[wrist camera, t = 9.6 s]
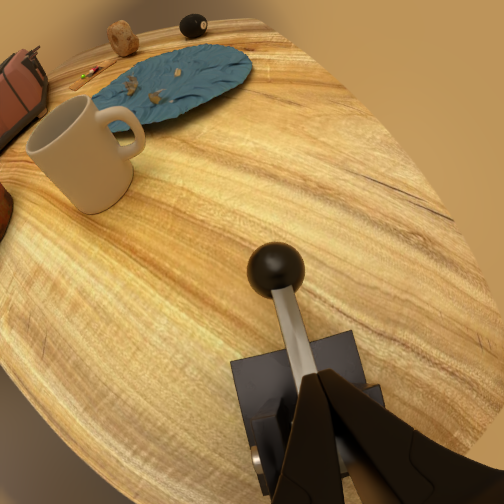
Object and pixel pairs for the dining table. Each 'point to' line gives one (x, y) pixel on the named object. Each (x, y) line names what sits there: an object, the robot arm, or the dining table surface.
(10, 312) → the dining table surface
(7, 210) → the food container
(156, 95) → the blue flat round piece
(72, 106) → the mug
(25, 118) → the toaster
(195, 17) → the billiard ball
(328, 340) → the bracket
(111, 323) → the dining table surface
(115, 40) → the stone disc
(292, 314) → the lever
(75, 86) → the board
